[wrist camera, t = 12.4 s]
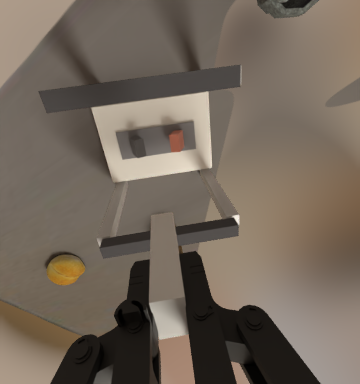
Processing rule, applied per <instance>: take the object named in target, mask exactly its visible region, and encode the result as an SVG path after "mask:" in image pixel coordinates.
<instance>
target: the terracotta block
mask: <svg viewBox="0 0 360 384" xmlns="http://www.w3.org/2000/svg"><path fill="white" fill-rule="evenodd" d="M169 139H170V146H171V152H181V150H182V149H183V148H184V139H183V130H176V131H173V132H172V133H171V134H170V135H169Z"/></svg>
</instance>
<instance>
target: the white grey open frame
mask: <svg viewBox="0 0 360 384" xmlns="http://www.w3.org/2000/svg"><path fill="white" fill-rule="evenodd" d="M240 85H241V78H240ZM91 109H92V112H93V116H94V119H95V122H96V126H97V129H98V133H99V136H100V140H101V143H102V146H103V150H104V153H105V157H106V160H107V163H108V167H109V170H110V174H111V177H112V180H113V183H115V182H117V184H116V187H115V189H114V192H113V195H112V197H111V200H110V203H109V205H108V208H107V211H106V214H105V216H104V219H103V222H102V224H101V227H100V230H99V232H98V235H97V241H98V244H99V246H100V245H101V242H102V239H105V238H111V237H116V233H117V229H118V225H119V221H120V217H121V213H122V209H123V205H124V201H125V197H126V193H127V189H128V183H127V181H128V180H135V179H141V178H148V177H154V176H161V175H168V174H174V173H181V172H187V171H194V170H200V176H201V178H202V180H203V181H204V183H205V185H206V187H207V189H208V191H209V193H210V195H211V197H212V199H213V201H214V203H215V205H216V207H217V209H218V211H219V213H220V215H221V217H222V219H227V218H233V217H234V218H235V220H236V222H237V223H238V225H239V214H238V212H237V211H236V209H235V207H234V206H233V204H232V203H231V201H230V200H229V198H228V197H227V195H226V194H225V192H224V191H223V189H222V188H221V186H220V184H219V183H218V181H217V180H216V178H215V177H214V175H213V174H212V172H211V171H210V169H209V168H212V156H211V137H210V117H209V97H208V92H206V91H205V92H198V93H191V94H183V95H176V96H169V97H161V98H154V99H147V100H140V101H132V102H125V103H118V104H110V105H103V106H96V107H92V108H91ZM176 130H183V139H184V148H183V149H182V150H181V152H171V146H170V139H169V135H170V134H171V133H172V132H173V131H176ZM135 136H139V137H141V138H143V140H144V145H145V150H146V155H147V156H145V157H141V158H137V157H136V156H134V155H133V152H132V148H131V144H130V139H129V138H130V137H135Z"/></svg>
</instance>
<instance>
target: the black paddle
mask: <svg viewBox="0 0 360 384" xmlns="http://www.w3.org/2000/svg"><path fill="white" fill-rule="evenodd" d="M129 139H130V144H131V148H132V152H133V155H134V156H136V157H137V158H141V157H145V156H147V155H146V150H145V145H144V140H143V138H141V137H139V136H135V137H130V138H129Z"/></svg>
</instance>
